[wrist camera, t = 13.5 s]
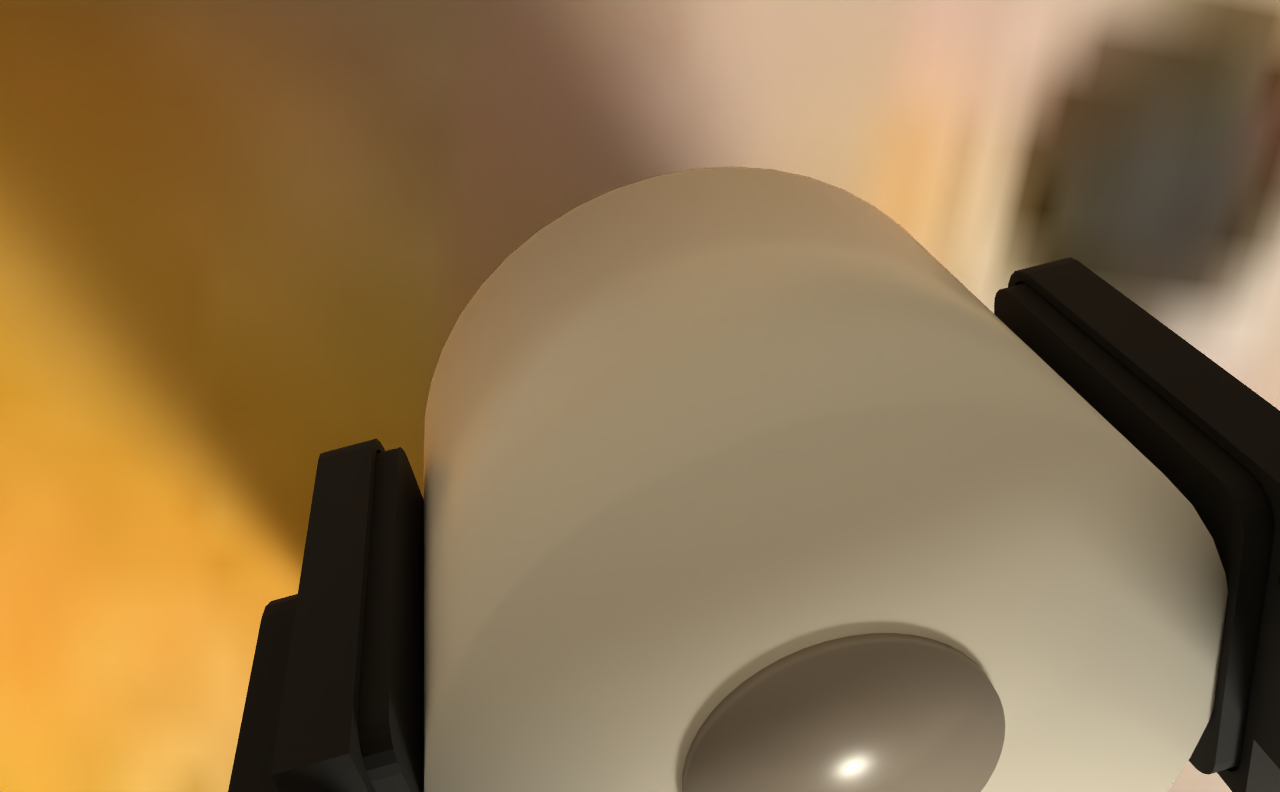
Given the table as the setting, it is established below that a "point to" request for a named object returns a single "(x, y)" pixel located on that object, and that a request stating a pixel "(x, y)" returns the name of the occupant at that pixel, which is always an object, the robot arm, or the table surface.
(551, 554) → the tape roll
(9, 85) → the table surface
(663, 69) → the table surface
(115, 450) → the table surface
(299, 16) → the table surface
